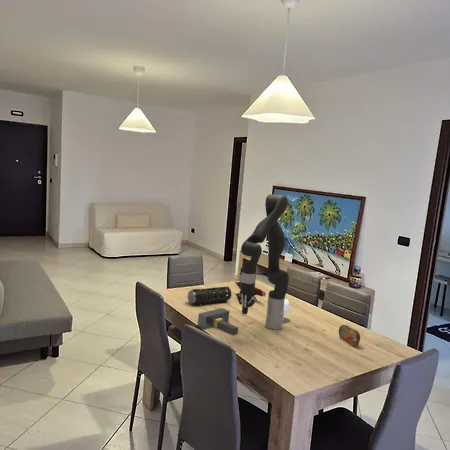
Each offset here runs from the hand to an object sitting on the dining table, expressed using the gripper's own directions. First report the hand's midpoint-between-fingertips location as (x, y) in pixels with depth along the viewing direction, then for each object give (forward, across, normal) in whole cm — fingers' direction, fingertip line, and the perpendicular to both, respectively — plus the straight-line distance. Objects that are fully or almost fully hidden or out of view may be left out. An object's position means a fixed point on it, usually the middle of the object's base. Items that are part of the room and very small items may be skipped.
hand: (244, 313), depth 212 cm
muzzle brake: (+13, +51, -24) cm, 58 cm away
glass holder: (+12, +62, -72) cm, 96 cm away
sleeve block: (+13, +22, 0) cm, 26 cm away
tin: (+12, -36, -45) cm, 59 cm away
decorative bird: (+13, +42, -52) cm, 68 cm away
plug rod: (+13, +13, 0) cm, 18 cm away
